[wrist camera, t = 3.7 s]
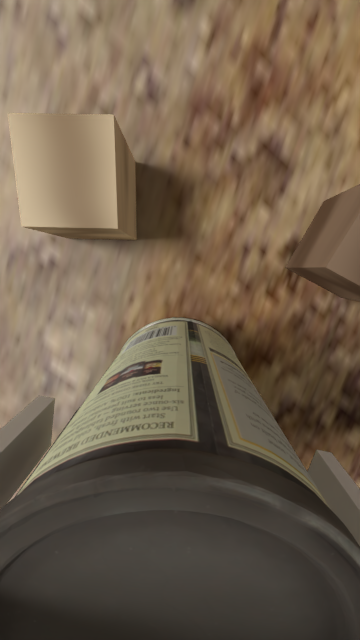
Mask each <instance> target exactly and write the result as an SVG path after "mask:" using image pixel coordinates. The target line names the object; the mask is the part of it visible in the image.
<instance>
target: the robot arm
mask: <svg viewBox="0 0 360 640" xmlns="http://www.w3.org/2000/svg"><path fill="white" fill-rule="evenodd" d="M54 402H55V398H50V397H45V396H40V395H39V396H38V397H37V398H36V399H34V400H33V401H32V402H31V403H30V404H29V405H28V406H26V407H25V408H24V409H23V410H22V411H21V412H20V413H18V414H17V415H16V416H15V417H14V418H13V419H12V420H10V421H9V422H8V423H7V424H6V425H5V426H4V427H2V428H1V429H0V510H1V509H2V508H3V507H4V506H5V505H6V504H7V503H8V501H9V500H10V499H11V497H12V496H13V495H14V493H15V492H16V491H17V489H18V488H19V487H20V485H21V484H22V483H23V481H24V480H25V479H26V477H27V476H28V475H29V474H30V472H31V471H32V470H33V468H34V467H35V466H36V464H37V463H38V462H39V460H40V459H41V458H42V456H43V455H44V454H45V452H46V451H47V450H48V448H49V447H50V446H51V437H52V425H53V414H54ZM308 474H309V475H310V477H311V479H312V480H313V482H314V483H315V485H316V487H317V488H318V490H319V492H320V493H321V495H322V496H323V498H324V500H325V501H326V503H327V505H328V506H329V508H330V509H331V510H332V511H333V512H334V513H335V515H336V516H337V517H338V518H339V519H340V520H341V521H342V522H343V523H344V525H345V526H346V527H347V529H348V530H349V531H350V533H351V534H352V535H353V537H354V538H355V540H356V541H357V543H358V544H359V546H360V489H359V488H358V486H357V485H356V484H355V482H354V481H353V480H352V478H351V477H350V476H349V475H348V473H347V472H346V471H345V469H344V468H343V467H342V466H341V464H340V463H339V462H338V460H337V459H336V458H335V457H334V455H333V454H332V453H331V452H326V451H321V450H316V452H315V454H314V457H313V459H312V462H311V464H310V467H309V469H308Z"/></svg>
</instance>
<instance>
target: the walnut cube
mask: <svg viewBox="0 0 360 640" xmlns="http://www.w3.org/2000/svg"><path fill="white" fill-rule="evenodd" d="M285 268H287V269H289V270H291V271H292V272H294V273H296V274H298V275H300V276H302V277H304V278H306V279H308V280H309V281H311V282H313V283H315V284H317V285H319V286H321V287H323V288H324V289H326V290H328V291H330V292H332V293H334V294H336V295H338V296H339V297H341V298H346V299H351V300H356V301H360V184H359V185H357V186H355V187H353V188H351V189H349V190H347V191H344V192H342V193H340V194H338V195H336V196H334V197H332V198H330V199H328V200H326V201H324V202H323V204H322V206H321V207H320V209H319V211H318V212H317V214H316V216H315V218H314V219H313V221H312V223H311V224H310V226H309V228H308V229H307V231H306V233H305V235H304V236H303V238H302V240H301V241H300V243H299V245H298V247H297V248H296V250H295V252H294V253H293V255H292V257H291V259H290V260H289V262H288V264H287V265H286V267H285Z"/></svg>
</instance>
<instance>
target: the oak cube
mask: <svg viewBox="0 0 360 640" xmlns="http://www.w3.org/2000/svg"><path fill="white" fill-rule="evenodd" d="M8 121H9V129H10V137H11V146H12V154H13V162H14V170H15V178H16V187H17V195H18V203H19V211H20V219H21V226H22V227H25V228H29V229H33V230H37V231H41V232H45V233H49V234H53V235H57V236H61V237H65V238H75V239H120V240H137V222H136V166H135V160H134V158H133V156H132V153H131V151H130V149H129V147H128V145H127V143H126V140H125V138H124V136H123V134H122V132H121V129H120V127H119V125H118V123H117V121H116V118H115V116H114V115H105V114H43V113H8Z"/></svg>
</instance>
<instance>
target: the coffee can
mask: <svg viewBox="0 0 360 640" xmlns="http://www.w3.org/2000/svg"><path fill="white" fill-rule="evenodd" d="M0 640H360V546H359V544H358V543H357V541H356V540H355V538H354V537H353V535H352V534H351V533H350V531H349V530H348V529H347V527H346V526H345V525H344V523H343V522H342V521H341V520H340V519H339V518H338V517H337V516H336V515H335V513H334V512H333V511H332V510H331V509H330V508H329V506H328V505H327V503H326V501H325V500H324V498H323V496H322V495H321V493H320V492H319V490H318V488H317V487H316V485H315V483H314V482H313V480H312V479H311V477H310V475H309V474H308V472H307V471H306V469H305V467H304V466H303V464H302V463H301V461H300V459H299V458H298V456H297V455H296V453H295V451H294V450H293V448H292V446H291V445H290V443H289V441H288V440H287V438H286V437H285V435H284V433H283V432H282V430H281V429H280V427H279V425H278V424H277V422H276V421H275V419H274V417H273V416H272V414H271V412H270V411H269V409H268V407H267V406H266V404H265V403H264V401H263V399H262V398H261V396H260V395H259V393H258V391H257V389H256V388H255V386H254V384H253V383H252V381H251V380H250V378H249V377H248V375H247V373H246V372H245V370H244V368H243V367H242V365H241V364H240V362H239V360H238V359H237V357H236V354H235V352H234V350H233V348H232V347H231V345H230V344H229V342H228V341H227V340H226V339H225V338H224V337H223V336H222V335H221V333H219V332H218V331H216V330H215V329H213V328H212V327H211V326H209V325H207V324H205V323H202V322H200V321H197V320H193V319H188V318H175V317H173V318H167V319H162V320H159V321H155V322H153V323H150V324H148V325H146V326H144V327H143V328H141V329H140V330H138V331H137V332H136V333H135V334H133V335H132V337H130V338H129V339H128V341H127V342H126V344H125V345H124V346H123V348H122V350H121V352H120V353H119V355H118V356H117V357H116V359H115V360H114V361H113V363H112V364H111V366H110V367H109V368H108V370H107V371H106V373H105V374H104V375H103V377H102V378H101V379H100V381H99V382H98V384H97V385H96V386H95V388H94V389H93V390H92V392H91V393H90V395H89V396H88V397H87V399H86V400H85V401H84V403H83V404H82V405H81V407H80V408H79V409H78V410H77V411H76V412H75V414H74V415H73V417H72V418H71V420H70V421H69V422H68V424H67V425H66V427H65V428H64V429H63V431H62V432H61V434H60V435H59V436H58V438H57V439H56V441H55V442H54V443H53V445H52V446H51V448H50V449H49V451H48V452H47V453H46V455H45V456H44V458H43V459H42V460H41V462H40V463H39V464H38V466H37V467H36V469H35V470H34V471H33V473H32V474H31V475H30V477H29V478H28V479H27V481H26V482H25V484H24V485H23V486H22V488H21V489H20V491H19V492H18V493H17V495H16V496H15V497H14V498H13V499H12V500H11V501H10V502H8V503H7V504H6V505H5V506H4V507H3V508H2V509H1V510H0Z"/></svg>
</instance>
